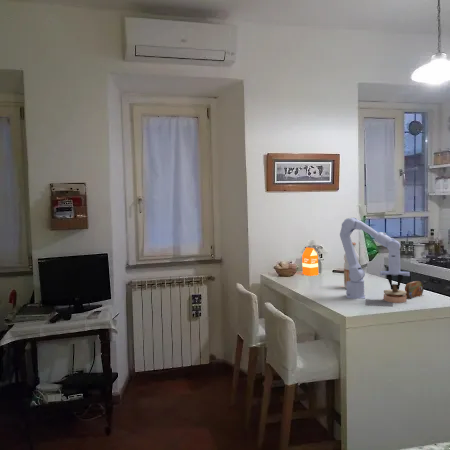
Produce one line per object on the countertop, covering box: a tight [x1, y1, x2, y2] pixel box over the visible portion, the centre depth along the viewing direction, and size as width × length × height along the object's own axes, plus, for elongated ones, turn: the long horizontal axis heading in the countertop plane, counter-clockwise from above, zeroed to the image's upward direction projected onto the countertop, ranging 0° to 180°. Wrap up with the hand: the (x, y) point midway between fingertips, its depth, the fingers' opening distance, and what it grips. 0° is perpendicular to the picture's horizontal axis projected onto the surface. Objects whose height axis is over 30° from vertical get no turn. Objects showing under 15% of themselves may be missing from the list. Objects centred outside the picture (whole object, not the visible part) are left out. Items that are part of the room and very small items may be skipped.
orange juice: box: [301, 247, 319, 277], centre depth 299 cm, size 8×9×20 cm
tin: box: [404, 280, 424, 299], centre depth 219 cm, size 15×3×8 cm, turn 126°
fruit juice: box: [343, 242, 361, 290], centre depth 246 cm, size 9×9×28 cm
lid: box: [383, 283, 406, 295], centre depth 212 cm, size 11×11×4 cm
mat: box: [365, 298, 394, 308], centre depth 208 cm, size 13×13×1 cm
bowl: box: [383, 293, 408, 304], centre depth 213 cm, size 11×11×3 cm
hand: (394, 289), depth 213 cm, fingers closed on lid, 3 cm apart
